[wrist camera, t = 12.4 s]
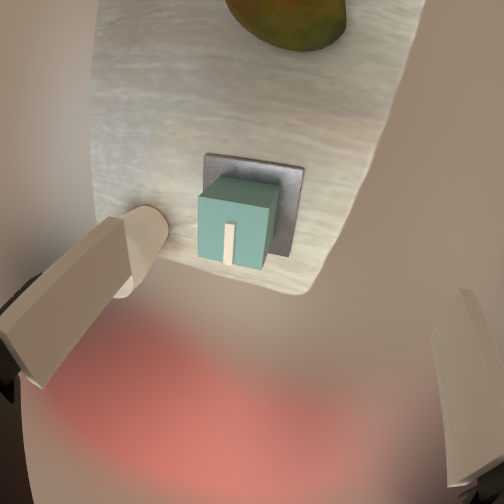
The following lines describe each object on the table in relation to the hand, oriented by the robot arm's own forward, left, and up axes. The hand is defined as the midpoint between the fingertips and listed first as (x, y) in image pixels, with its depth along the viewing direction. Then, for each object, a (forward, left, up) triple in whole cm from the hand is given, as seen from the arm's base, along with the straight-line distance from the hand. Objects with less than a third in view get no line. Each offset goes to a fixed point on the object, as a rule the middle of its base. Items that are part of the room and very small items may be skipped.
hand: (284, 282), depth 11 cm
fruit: (-16, -4, -27) cm, 31 cm away
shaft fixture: (+10, -7, -27) cm, 29 cm away
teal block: (+10, -7, -26) cm, 28 cm away
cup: (+16, -22, -27) cm, 38 cm away
